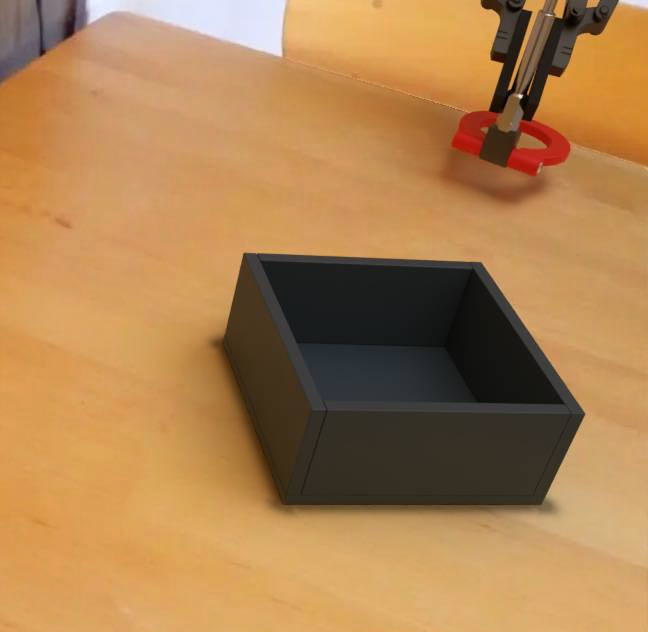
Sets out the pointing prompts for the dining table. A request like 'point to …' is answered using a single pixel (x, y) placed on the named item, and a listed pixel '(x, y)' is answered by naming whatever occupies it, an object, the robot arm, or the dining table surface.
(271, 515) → the dining table surface
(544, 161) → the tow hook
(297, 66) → the dining table surface
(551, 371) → the tote
